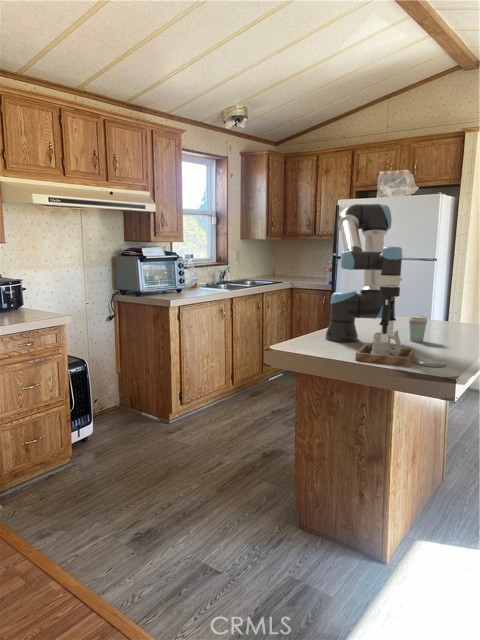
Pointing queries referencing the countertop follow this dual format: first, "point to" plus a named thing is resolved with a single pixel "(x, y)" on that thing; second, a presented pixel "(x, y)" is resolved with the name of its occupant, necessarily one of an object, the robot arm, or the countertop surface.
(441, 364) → the grey flat disc
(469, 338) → the countertop surface
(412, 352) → the walnut tray
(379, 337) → the mug
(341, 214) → the robot arm
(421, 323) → the coffee cup
